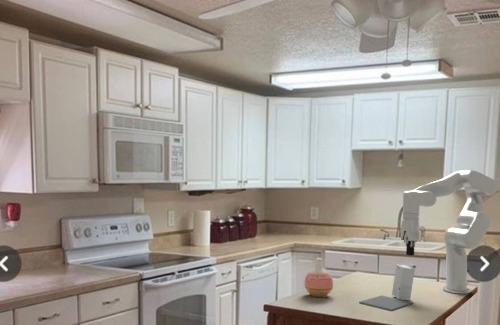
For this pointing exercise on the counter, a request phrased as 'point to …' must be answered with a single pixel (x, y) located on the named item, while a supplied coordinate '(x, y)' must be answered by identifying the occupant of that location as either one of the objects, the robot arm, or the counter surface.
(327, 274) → the vase
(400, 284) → the skincare box
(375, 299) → the mat
